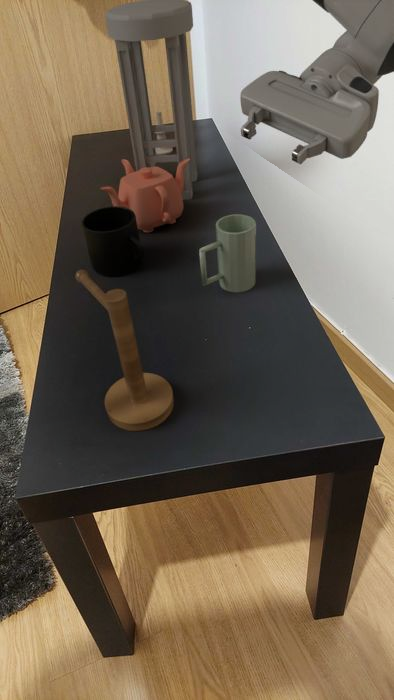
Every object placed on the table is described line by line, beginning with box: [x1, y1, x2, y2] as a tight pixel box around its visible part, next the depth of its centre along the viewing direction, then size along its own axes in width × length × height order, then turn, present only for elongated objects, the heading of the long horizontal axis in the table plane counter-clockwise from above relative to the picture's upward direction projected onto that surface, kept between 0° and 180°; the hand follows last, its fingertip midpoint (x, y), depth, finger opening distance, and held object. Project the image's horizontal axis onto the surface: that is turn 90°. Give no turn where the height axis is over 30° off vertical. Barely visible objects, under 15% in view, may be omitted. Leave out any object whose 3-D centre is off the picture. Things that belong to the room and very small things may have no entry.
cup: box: [198, 213, 257, 293], centre depth 83 cm, size 10×6×11 cm, turn 124°
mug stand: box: [74, 269, 175, 432], centre depth 64 cm, size 16×9×18 cm, turn 34°
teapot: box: [99, 158, 190, 234], centre depth 102 cm, size 14×14×11 cm
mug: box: [81, 205, 145, 277], centre depth 91 cm, size 9×12×9 cm
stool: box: [104, 0, 198, 201], centre depth 104 cm, size 16×16×35 cm
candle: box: [153, 111, 174, 155], centre depth 130 cm, size 5×5×10 cm
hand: (269, 146), depth 74 cm, fingers open, 8 cm apart
